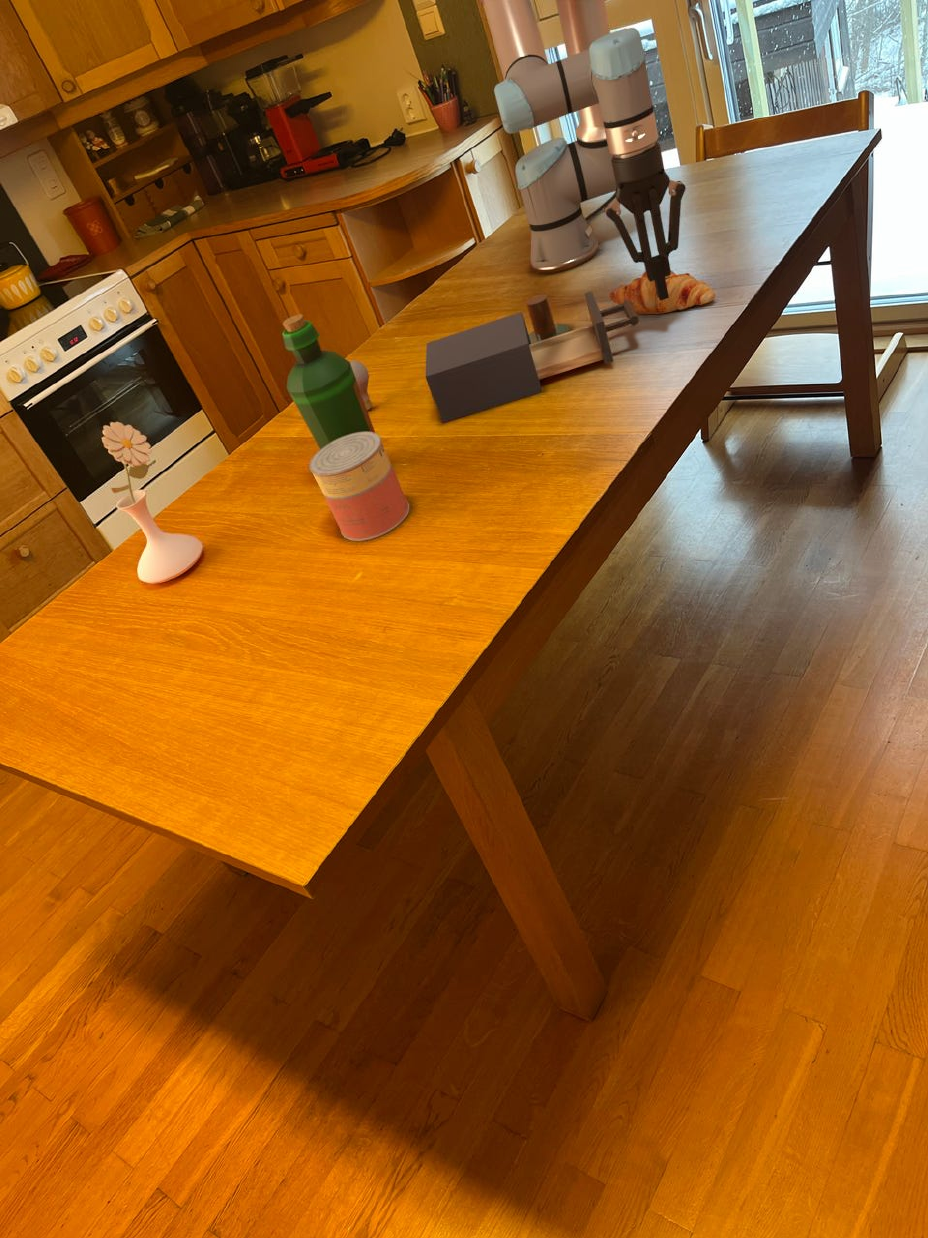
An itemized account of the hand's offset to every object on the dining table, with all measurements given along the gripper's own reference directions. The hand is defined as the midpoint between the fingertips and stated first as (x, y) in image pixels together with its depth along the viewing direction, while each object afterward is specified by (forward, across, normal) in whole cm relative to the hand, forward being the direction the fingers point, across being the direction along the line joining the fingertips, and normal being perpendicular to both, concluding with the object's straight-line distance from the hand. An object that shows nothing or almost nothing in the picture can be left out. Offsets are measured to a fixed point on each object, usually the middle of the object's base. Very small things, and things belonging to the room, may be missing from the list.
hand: (663, 296), depth 151 cm
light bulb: (+7, -56, +8) cm, 57 cm away
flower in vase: (+7, -88, -29) cm, 92 cm away
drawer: (+5, -17, 0) cm, 18 cm away
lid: (+7, -20, +15) cm, 26 cm away
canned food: (+7, -52, -33) cm, 62 cm away
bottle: (+7, -56, -18) cm, 59 cm away
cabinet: (+7, -32, 0) cm, 33 cm away
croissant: (+7, +1, +12) cm, 14 cm away
